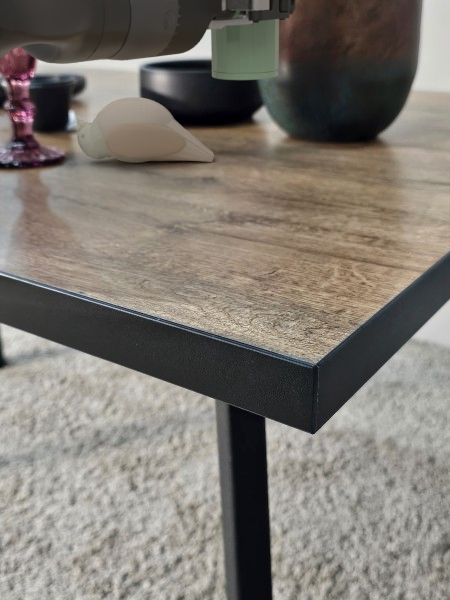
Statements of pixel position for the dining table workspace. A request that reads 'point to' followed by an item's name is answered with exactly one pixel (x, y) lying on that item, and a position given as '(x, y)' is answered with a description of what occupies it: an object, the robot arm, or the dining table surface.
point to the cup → (246, 51)
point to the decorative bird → (139, 134)
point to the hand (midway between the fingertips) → (258, 1)
